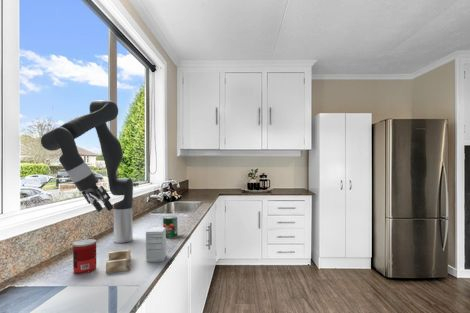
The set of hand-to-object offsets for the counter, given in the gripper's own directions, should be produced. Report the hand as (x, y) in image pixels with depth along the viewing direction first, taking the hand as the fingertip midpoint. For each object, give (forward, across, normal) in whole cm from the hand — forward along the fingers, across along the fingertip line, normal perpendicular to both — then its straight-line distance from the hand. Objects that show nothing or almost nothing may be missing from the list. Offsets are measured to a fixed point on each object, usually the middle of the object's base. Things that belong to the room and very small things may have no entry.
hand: (105, 210), depth 112 cm
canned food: (+16, +6, +17) cm, 24 cm away
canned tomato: (+39, +16, -27) cm, 50 cm away
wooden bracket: (+21, -1, +8) cm, 23 cm away
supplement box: (+29, -7, -3) cm, 30 cm away
